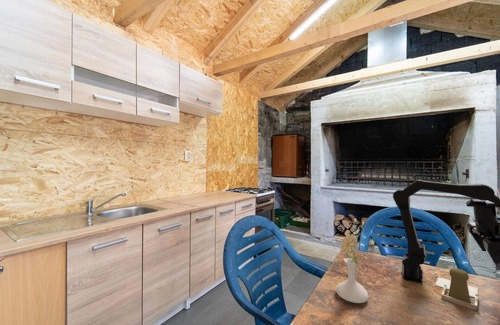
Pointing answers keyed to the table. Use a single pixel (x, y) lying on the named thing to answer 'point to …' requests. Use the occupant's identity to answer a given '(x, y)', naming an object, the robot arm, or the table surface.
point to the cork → (459, 285)
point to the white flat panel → (442, 282)
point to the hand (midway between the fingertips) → (490, 257)
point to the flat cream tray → (459, 300)
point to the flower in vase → (351, 274)
